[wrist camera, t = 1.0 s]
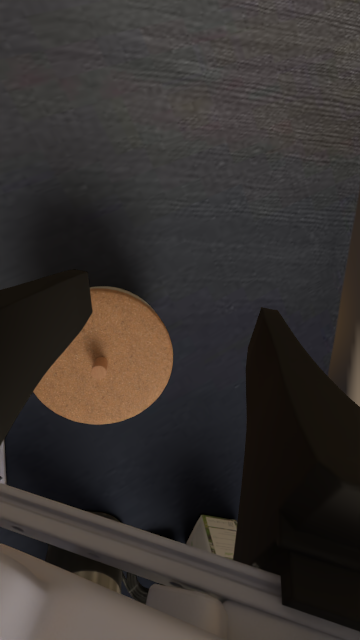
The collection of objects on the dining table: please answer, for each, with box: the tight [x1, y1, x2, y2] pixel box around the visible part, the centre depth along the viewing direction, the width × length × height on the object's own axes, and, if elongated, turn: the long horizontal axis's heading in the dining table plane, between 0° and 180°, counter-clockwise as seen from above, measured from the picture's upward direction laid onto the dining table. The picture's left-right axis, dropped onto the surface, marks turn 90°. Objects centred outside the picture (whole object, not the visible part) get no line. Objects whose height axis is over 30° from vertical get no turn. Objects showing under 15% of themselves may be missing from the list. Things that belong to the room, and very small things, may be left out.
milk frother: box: [45, 512, 166, 605], centre depth 27 cm, size 14×16×15 cm
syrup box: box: [186, 515, 237, 560], centre depth 30 cm, size 6×6×14 cm
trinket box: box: [33, 286, 173, 425], centre depth 22 cm, size 11×11×9 cm
